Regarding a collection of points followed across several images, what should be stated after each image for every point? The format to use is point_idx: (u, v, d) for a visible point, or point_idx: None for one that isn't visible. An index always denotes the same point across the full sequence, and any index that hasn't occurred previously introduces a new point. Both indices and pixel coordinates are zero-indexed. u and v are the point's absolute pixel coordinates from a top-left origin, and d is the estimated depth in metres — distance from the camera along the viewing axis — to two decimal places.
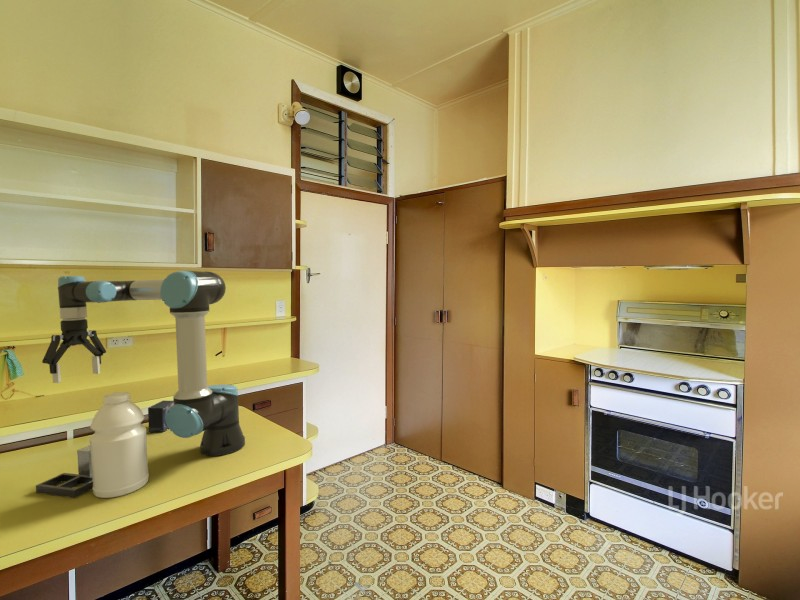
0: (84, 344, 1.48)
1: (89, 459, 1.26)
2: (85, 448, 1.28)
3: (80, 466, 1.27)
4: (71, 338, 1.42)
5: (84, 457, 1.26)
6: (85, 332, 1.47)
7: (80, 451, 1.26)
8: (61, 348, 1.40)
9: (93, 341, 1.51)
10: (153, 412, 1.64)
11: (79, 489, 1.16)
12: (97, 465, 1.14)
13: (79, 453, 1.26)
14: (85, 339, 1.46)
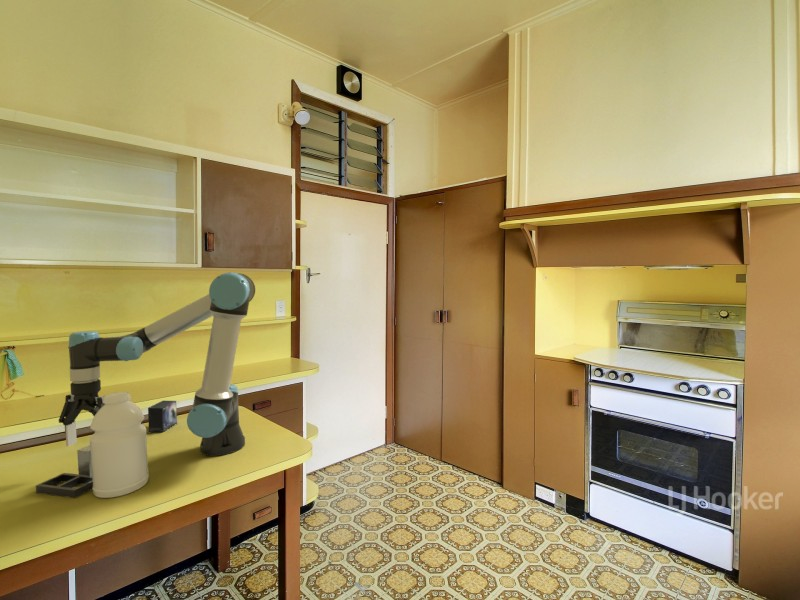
0: None
1: (89, 459, 1.26)
2: (85, 448, 1.28)
3: (80, 466, 1.27)
4: None
5: (85, 457, 1.26)
6: (90, 398, 1.26)
7: (80, 451, 1.26)
8: None
9: None
10: (153, 412, 1.64)
11: (79, 489, 1.16)
12: (97, 465, 1.14)
13: (79, 453, 1.26)
14: (87, 406, 1.25)
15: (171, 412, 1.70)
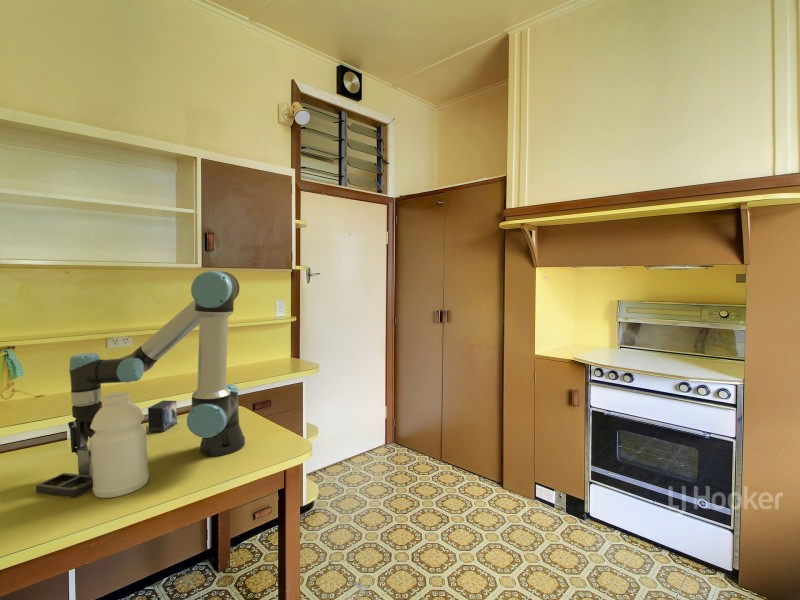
0: None
1: (89, 459, 1.26)
2: (85, 448, 1.28)
3: (80, 466, 1.27)
4: None
5: (85, 457, 1.26)
6: None
7: (80, 451, 1.26)
8: None
9: None
10: (153, 412, 1.64)
11: (79, 489, 1.16)
12: (97, 465, 1.14)
13: (79, 453, 1.26)
14: (87, 429, 1.26)
15: (171, 412, 1.70)
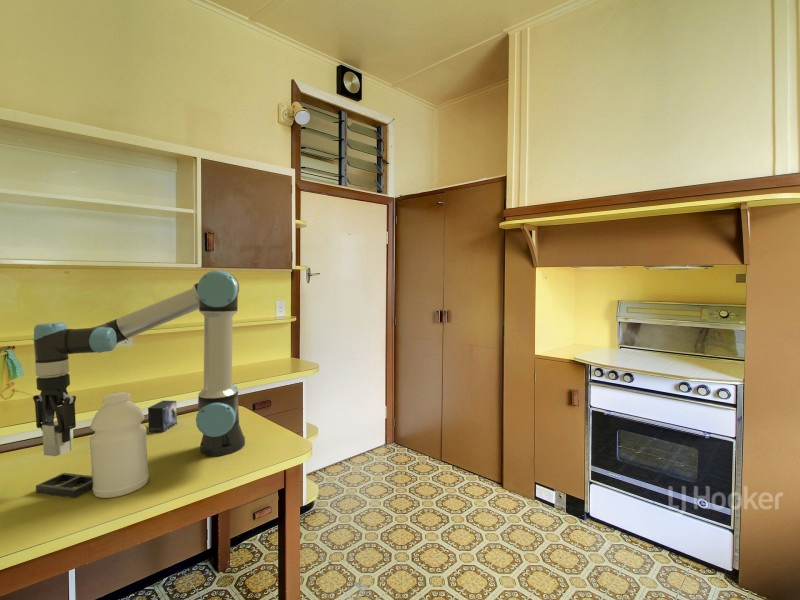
0: None
1: (55, 435, 1.18)
2: (51, 423, 1.20)
3: (45, 442, 1.19)
4: None
5: (50, 432, 1.18)
6: (58, 393, 1.18)
7: (45, 426, 1.19)
8: None
9: None
10: (153, 412, 1.64)
11: (79, 489, 1.16)
12: (97, 465, 1.14)
13: (44, 428, 1.19)
14: (52, 403, 1.18)
15: (171, 412, 1.70)
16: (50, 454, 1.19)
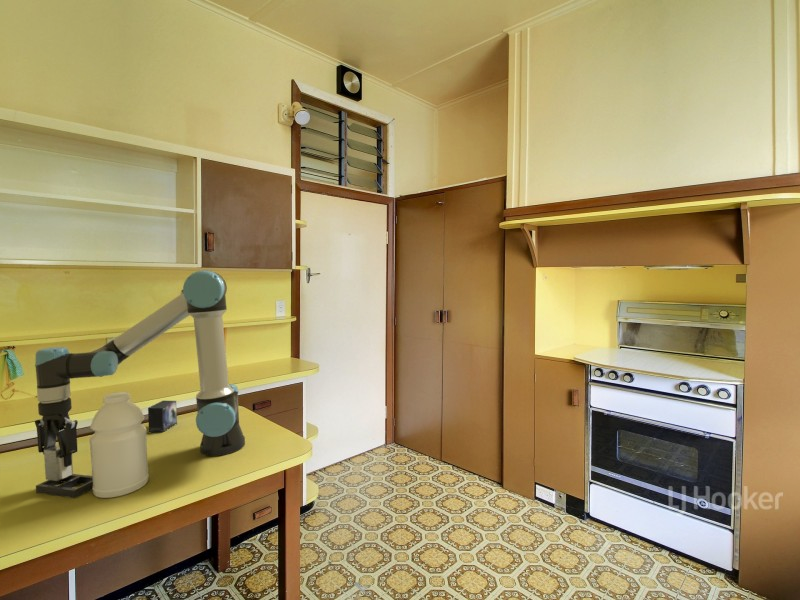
0: None
1: (56, 459, 1.18)
2: (53, 448, 1.20)
3: (47, 467, 1.19)
4: None
5: (52, 457, 1.19)
6: (60, 418, 1.19)
7: (47, 451, 1.19)
8: None
9: None
10: (153, 412, 1.64)
11: (79, 489, 1.16)
12: (97, 465, 1.14)
13: (46, 453, 1.19)
14: (54, 428, 1.18)
15: (171, 412, 1.70)
16: (52, 479, 1.19)
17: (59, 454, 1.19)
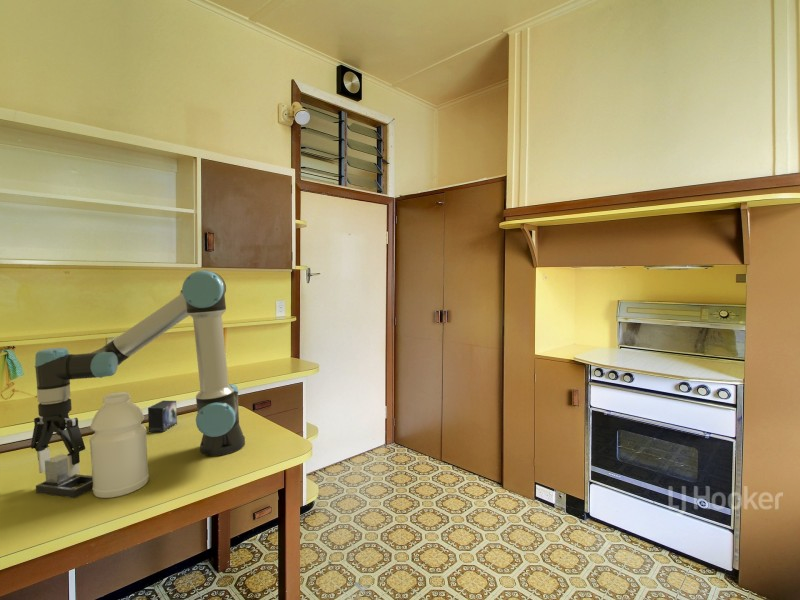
0: None
1: (57, 470, 1.19)
2: (53, 458, 1.21)
3: (48, 478, 1.19)
4: None
5: (52, 468, 1.19)
6: (59, 419, 1.19)
7: (48, 462, 1.19)
8: None
9: None
10: (153, 412, 1.64)
11: (79, 489, 1.16)
12: (97, 465, 1.14)
13: (47, 464, 1.19)
14: (55, 428, 1.18)
15: (171, 412, 1.70)
16: None
17: (60, 465, 1.19)
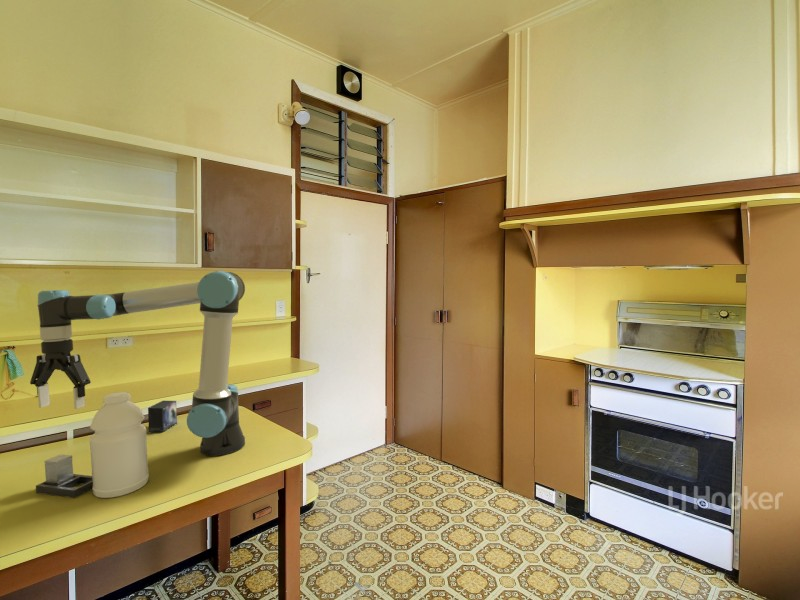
0: None
1: (57, 470, 1.19)
2: (53, 458, 1.21)
3: (48, 478, 1.19)
4: None
5: (52, 468, 1.19)
6: (62, 356, 1.24)
7: (48, 462, 1.19)
8: None
9: None
10: (153, 412, 1.64)
11: (79, 489, 1.16)
12: (97, 465, 1.14)
13: (47, 464, 1.19)
14: (59, 365, 1.24)
15: (171, 412, 1.70)
16: None
17: (60, 465, 1.19)
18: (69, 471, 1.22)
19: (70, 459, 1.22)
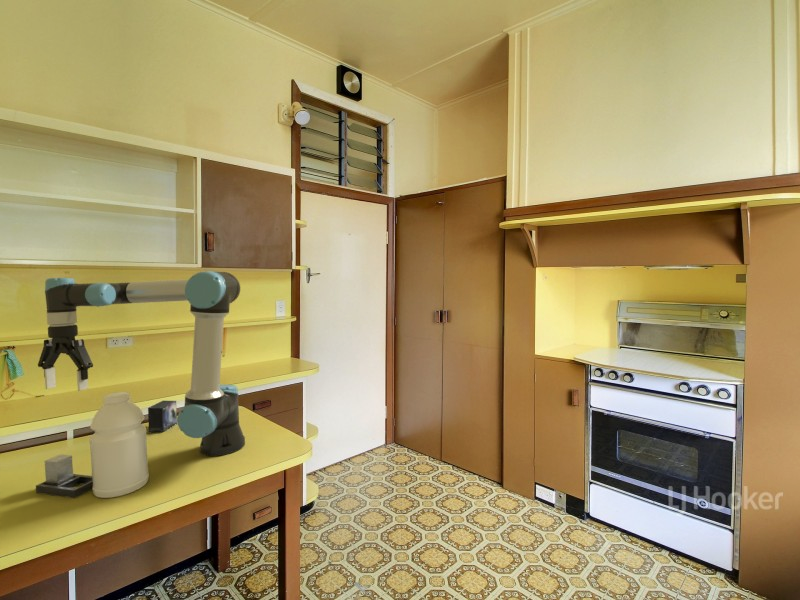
0: None
1: (57, 470, 1.19)
2: (53, 458, 1.21)
3: (48, 478, 1.19)
4: None
5: (52, 468, 1.19)
6: (67, 341, 1.31)
7: (48, 462, 1.19)
8: None
9: None
10: (153, 412, 1.64)
11: (79, 489, 1.16)
12: (97, 465, 1.14)
13: (47, 464, 1.19)
14: (64, 348, 1.30)
15: (171, 412, 1.70)
16: None
17: (60, 465, 1.19)
18: (69, 471, 1.22)
19: (70, 459, 1.22)
